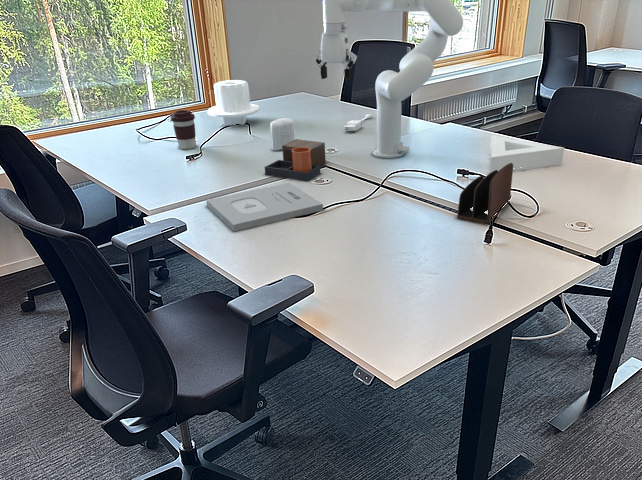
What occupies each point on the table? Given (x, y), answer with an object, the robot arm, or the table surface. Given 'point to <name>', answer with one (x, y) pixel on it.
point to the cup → (301, 159)
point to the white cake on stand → (232, 102)
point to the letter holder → (486, 196)
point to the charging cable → (355, 124)
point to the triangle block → (522, 154)
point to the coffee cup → (184, 128)
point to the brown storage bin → (315, 147)
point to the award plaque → (263, 206)
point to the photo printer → (281, 132)
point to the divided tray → (290, 171)
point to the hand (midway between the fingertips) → (335, 79)
